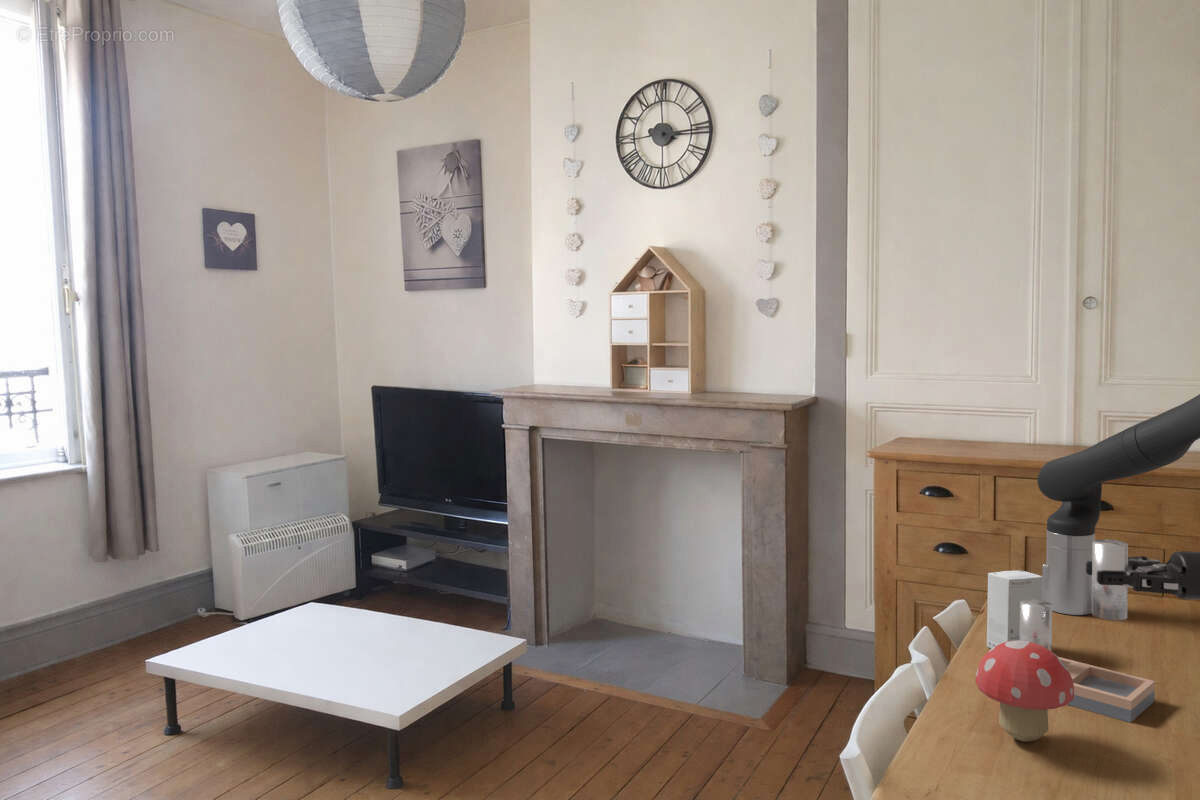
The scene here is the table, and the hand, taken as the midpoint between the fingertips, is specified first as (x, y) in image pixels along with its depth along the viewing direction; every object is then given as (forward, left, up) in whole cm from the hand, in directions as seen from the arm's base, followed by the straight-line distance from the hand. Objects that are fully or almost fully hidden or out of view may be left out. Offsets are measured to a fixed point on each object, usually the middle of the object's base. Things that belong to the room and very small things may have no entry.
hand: (1092, 572), depth 143 cm
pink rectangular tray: (-4, +2, -22) cm, 22 cm away
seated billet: (-9, +2, -20) cm, 22 cm away
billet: (+2, +2, -7) cm, 7 cm away
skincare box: (-19, +15, -22) cm, 32 cm away
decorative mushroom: (-2, -21, -22) cm, 31 cm away
